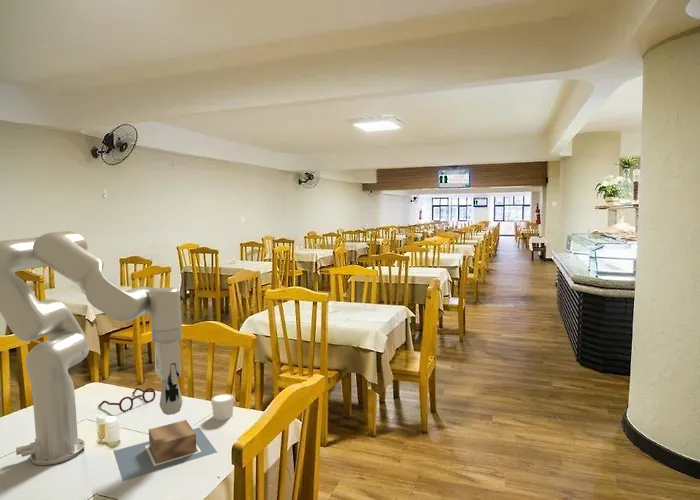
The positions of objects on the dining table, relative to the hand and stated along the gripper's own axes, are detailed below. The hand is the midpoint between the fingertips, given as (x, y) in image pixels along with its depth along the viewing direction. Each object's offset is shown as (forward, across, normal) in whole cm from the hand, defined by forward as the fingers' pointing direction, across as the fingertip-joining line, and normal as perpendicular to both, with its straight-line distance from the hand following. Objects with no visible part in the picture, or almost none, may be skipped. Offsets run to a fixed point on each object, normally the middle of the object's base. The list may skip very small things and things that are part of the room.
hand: (170, 400), depth 125 cm
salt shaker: (+3, 0, 0) cm, 3 cm away
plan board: (+15, 0, -2) cm, 15 cm away
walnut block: (+14, 0, 0) cm, 14 cm away
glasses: (+15, -44, -5) cm, 47 cm away
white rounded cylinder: (+15, -12, +18) cm, 26 cm away
